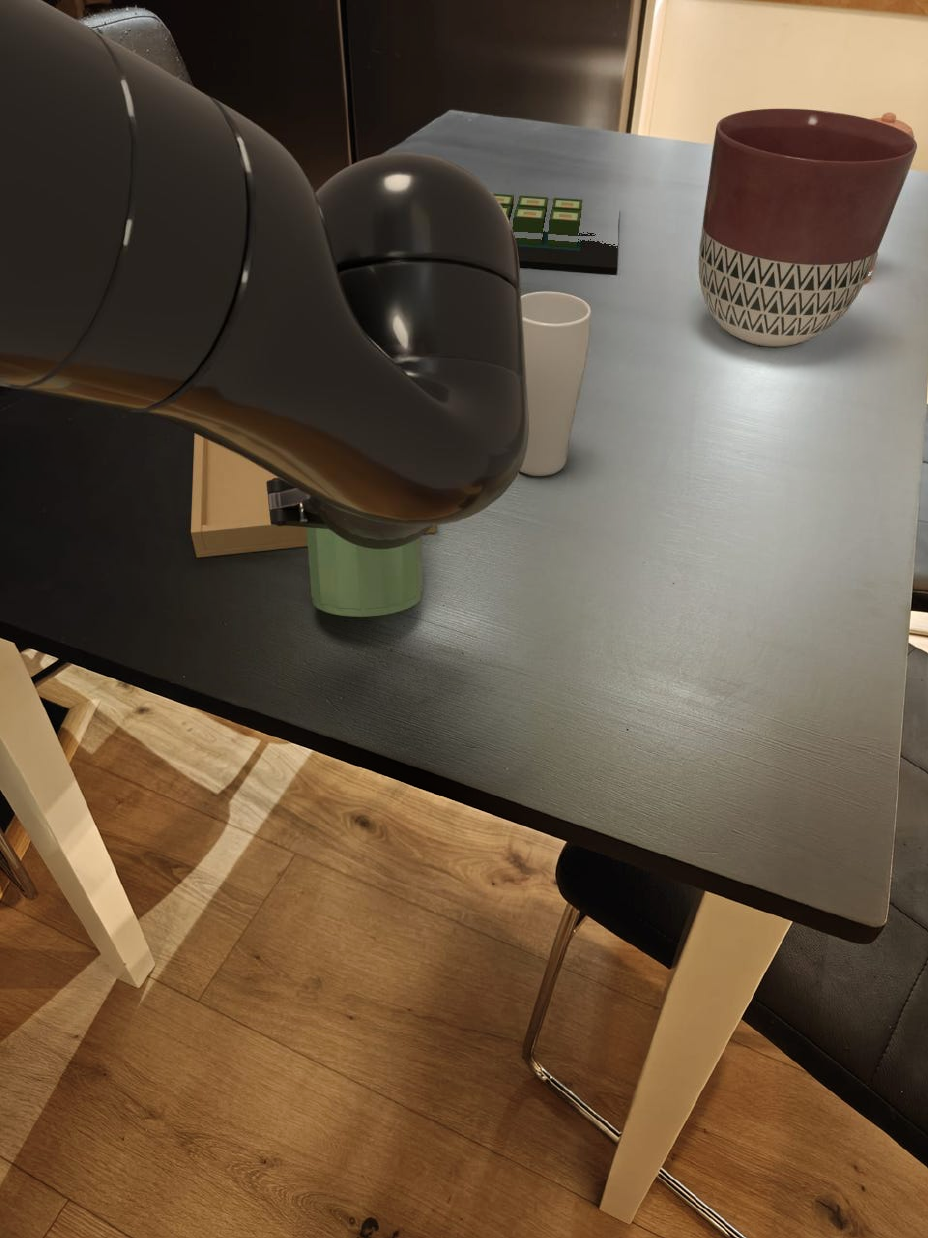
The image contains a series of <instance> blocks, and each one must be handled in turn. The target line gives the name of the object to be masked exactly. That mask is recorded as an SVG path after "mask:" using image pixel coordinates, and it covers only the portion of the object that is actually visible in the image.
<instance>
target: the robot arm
mask: <svg viewBox="0 0 928 1238" xmlns="http://www.w3.org/2000/svg"><path fill="white" fill-rule="evenodd" d="M323 183H324V184H323ZM323 183H322V184H323V185H322V184H321V185H322V186H321V187H320V188H319V189H318V190H317V191H316V192H315V189H314V187H313V184H312V182H311V180H310V179H309V177H308V176H307V174H306V172H305V170H304V169H303V168H302V166H301V165H300V163H299V162H298V160H297V159H296V158H295V157H294V155H292V153H291V152H290V151H289V150H288V149H287V148H286V147H285V146H284V145H283V144H282V143H281V142H280V141H279V140H278V139H277V138H276V137H274V136H273V135H272V134H270V133H269V132H268V131H266V130H265V129H263V128H262V127H261V126H259V125H258V124H257V123H256V122H254V121H252V120H251V119H249V118H248V117H246V116H244V115H243V114H241V113H240V112H238V111H237V110H235V109H233V108H232V107H230V106H228V105H226V104H224V103H222V102H221V101H219V100H218V99H215V98H214V97H212V96H210V95H208V94H206V93H204V92H202V91H201V90H199V89H198V88H196V87H195V86H193V85H192V84H190V83H188V82H186V81H184V80H182V79H181V78H179V77H178V76H175V75H174V74H172V73H170V72H169V71H167V70H166V69H164V68H162V67H160V66H158V65H156V64H154V63H153V62H151V61H150V60H148V59H146V58H144V57H143V56H140V55H139V54H137V53H135V52H134V51H132V50H131V49H128V48H127V47H125V46H123V45H121V44H119V43H118V42H116V41H114V40H113V39H111V38H109V37H107V36H106V35H104V34H102V33H100V32H99V31H97V30H95V29H94V28H91V27H90V26H88V25H86V24H84V23H82V22H81V21H79V20H78V19H75V18H74V17H72V16H71V15H69V14H66V13H65V12H63V11H61V10H60V9H58V8H56V7H54V6H53V5H50V4H49V3H47V2H46V1H44V0H0V387H4V388H5V387H6V388H9V389H15V390H19V391H24V392H28V393H34V394H40V395H43V396H47V397H48V396H49V397H53V398H59V399H63V400H68V401H73V402H77V403H84V404H88V405H92V406H98V407H103V408H107V409H113V410H119V411H120V410H121V411H123V412H128V413H134V414H137V415H138V414H139V415H143V416H148V417H153V418H157V419H161V420H164V421H166V422H170V423H172V424H175V425H177V426H179V427H181V428H184V429H185V430H187V431H189V432H191V433H193V434H194V435H195V434H197V435H199V436H201V437H203V438H205V439H207V440H209V441H211V442H213V443H215V444H217V445H219V446H221V447H223V448H225V449H227V450H229V451H231V452H234V453H236V454H238V455H240V456H242V457H243V458H245V459H247V460H249V461H251V462H253V463H254V464H256V465H258V466H259V467H261V468H263V469H265V470H266V471H268V472H270V473H271V474H273V475H275V476H276V477H278V478H273V479H272V480H269V481H267V482H266V485H267V494H268V503H269V513H270V522H271V524H272V525H277V526H297V527H309V528H321V529H329V530H332V531H333V532H334V533H336V534H337V535H338V536H340V537H341V538H343V539H344V540H346V541H348V542H350V543H352V544H355V545H358V546H361V547H365V548H370V549H390V548H396V547H400V546H403V545H406V544H408V543H411V542H413V541H415V540H416V539H418V538H419V537H421V538H422V536H424V535H426V534H425V533H426V532H427V531H428V530H429V529H430V528H431V527H432V526H433V525H436V526H439V525H445V524H450V523H451V524H452V523H456V522H458V521H462V520H465V519H467V518H471V517H472V516H475V515H477V514H478V513H480V512H481V511H483V510H485V509H486V508H487V509H488V507H490V506H491V505H492V504H493V503H495V502H496V501H497V500H498V499H499V498H500V497H502V496H503V494H505V493H506V491H507V490H508V489H509V488H510V486H511V485H512V484H513V483H514V481H515V480H516V478H517V476H518V475H519V473H520V471H519V470H520V469H521V467H522V464H523V461H524V458H525V454H526V451H527V444H528V435H529V415H528V398H527V385H526V367H525V350H524V334H523V317H522V303H521V296H522V287H521V286H522V282H521V269H520V265H519V256H518V249H517V243H516V239H515V235H514V232H513V229H512V226H511V223H510V220H509V218H508V216H507V215H506V213H505V211H504V209H503V207H502V206H501V204H500V203H499V201H498V200H497V198H496V197H495V196H494V195H493V194H494V193H493V191H491V190H490V189H489V188H488V187H487V185H485V184H484V183H483V182H482V180H480V179H478V177H476V176H475V175H473V174H472V173H471V172H469V171H468V170H467V169H465V168H464V167H461V166H460V165H457V164H456V163H454V162H452V161H449V160H446V159H444V158H442V157H437V156H434V155H429V154H425V153H419V152H418V153H417V152H410V151H409V152H408V151H405V152H404V151H403V152H389V153H383V154H377V155H375V156H370V157H368V158H364V159H362V160H359V161H357V162H354V163H353V164H350V165H348V166H347V167H345V168H343V169H341V170H339V171H338V172H336V173H335V174H334V175H333V176H331V177H329V178H328V179H327V180H326V181H324V182H323Z"/></svg>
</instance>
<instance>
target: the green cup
mask: <svg viewBox="0 0 928 1238" xmlns="http://www.w3.org/2000/svg"><path fill="white" fill-rule="evenodd" d="M306 535H307V546H306V548H307V559H308V571H309V584H310V597H311V603H312V604H313V606H314V607H315V608H316V609H318V610H320V611H322V612H324V613H328V614H331V615H336V616H342V617H354V618H366V617H367V618H369V617H380V616H386V615H391V614H396V613H399V612H402V611H405V610H407V609H410V608H412V607H414V606H415V605H417V604H418V603H419V602H420V601H421V599H422V597H423V592H422V591H423V558H422V536H421V537H419V538H418V539H416V540H415V541H413V542H411V543H408V544H406V545H403V546H400V547H396V548H390V549H370V548H365V547H361V546H358V545H355V544H352V543H350V542H348V541H346V540H344V539H343V538H341V537H340V536H338V535H337V534H336V533H334V532H333V531H332V530H329V529H321V528H309V527H306Z"/></svg>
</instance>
